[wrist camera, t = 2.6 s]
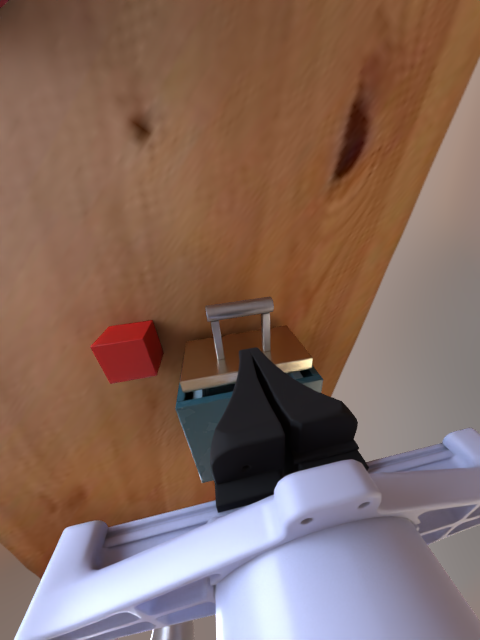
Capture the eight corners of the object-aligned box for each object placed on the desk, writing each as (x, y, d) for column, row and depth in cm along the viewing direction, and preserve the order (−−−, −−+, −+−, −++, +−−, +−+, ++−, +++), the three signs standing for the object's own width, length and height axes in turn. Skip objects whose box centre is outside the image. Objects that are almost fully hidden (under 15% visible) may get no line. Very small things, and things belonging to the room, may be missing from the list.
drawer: (173, 295, 17) (161, 325, 12) (288, 280, 18) (319, 301, 13) (203, 410, 24) (203, 459, 19) (284, 393, 25) (304, 435, 20)
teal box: (184, 351, 21) (175, 408, 14) (288, 333, 22) (323, 379, 15) (202, 419, 26) (202, 483, 19) (286, 401, 27) (311, 456, 21)
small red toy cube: (108, 326, 18) (89, 346, 15) (152, 319, 18) (142, 338, 15) (124, 359, 20) (110, 384, 17) (164, 353, 20) (157, 375, 17)
